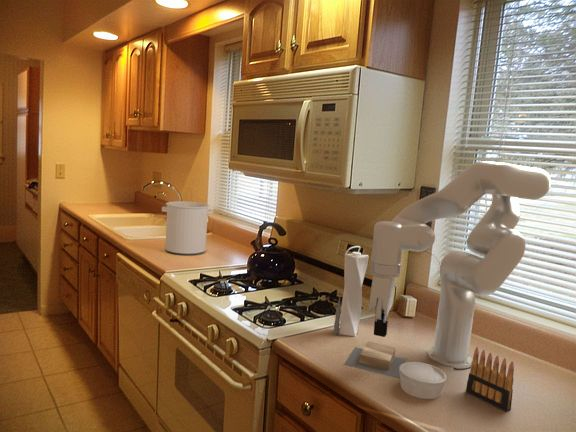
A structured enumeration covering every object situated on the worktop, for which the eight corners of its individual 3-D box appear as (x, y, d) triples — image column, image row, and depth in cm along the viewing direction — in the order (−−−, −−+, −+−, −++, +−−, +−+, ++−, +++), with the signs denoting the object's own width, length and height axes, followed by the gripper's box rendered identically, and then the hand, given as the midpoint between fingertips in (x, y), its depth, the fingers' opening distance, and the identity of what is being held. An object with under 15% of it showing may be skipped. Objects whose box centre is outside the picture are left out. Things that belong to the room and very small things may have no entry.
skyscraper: (337, 327, 155) (345, 243, 151) (361, 331, 153) (370, 246, 149) (332, 336, 147) (341, 248, 143) (358, 341, 145) (367, 252, 141)
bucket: (156, 254, 233) (158, 205, 229) (163, 245, 254) (165, 199, 251) (209, 257, 235) (211, 208, 232) (212, 247, 257) (214, 203, 253)
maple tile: (359, 362, 129) (367, 349, 138) (388, 369, 126) (394, 355, 135) (360, 354, 129) (368, 341, 138) (389, 361, 126) (395, 347, 135)
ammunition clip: (465, 391, 119) (471, 346, 117) (469, 390, 120) (475, 345, 118) (507, 412, 110) (514, 363, 109) (510, 410, 112) (518, 362, 110)
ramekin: (453, 401, 114) (456, 381, 113) (412, 405, 110) (415, 384, 110) (427, 379, 124) (429, 360, 123) (389, 382, 121) (391, 362, 120)
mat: (355, 348, 139) (355, 347, 139) (406, 361, 134) (407, 358, 134) (343, 366, 127) (343, 364, 127) (399, 380, 122) (399, 378, 122)
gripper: (377, 260, 133) (372, 323, 135) (364, 273, 119) (359, 342, 122) (404, 264, 130) (398, 328, 133) (395, 277, 116) (389, 348, 119)
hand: (380, 334), depth 127 cm, fingers closed
